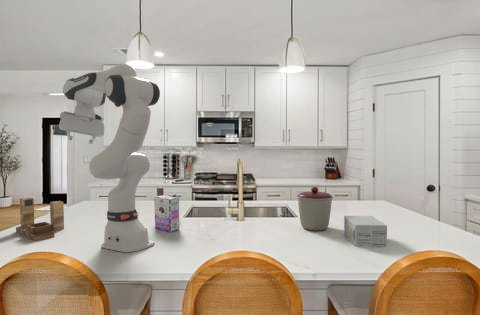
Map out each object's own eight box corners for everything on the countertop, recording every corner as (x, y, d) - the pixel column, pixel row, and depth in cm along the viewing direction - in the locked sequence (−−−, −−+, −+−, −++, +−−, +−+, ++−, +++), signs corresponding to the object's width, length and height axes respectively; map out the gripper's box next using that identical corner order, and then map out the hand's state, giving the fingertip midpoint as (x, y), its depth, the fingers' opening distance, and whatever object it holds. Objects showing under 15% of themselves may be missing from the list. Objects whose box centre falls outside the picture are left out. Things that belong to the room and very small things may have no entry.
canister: (289, 228, 157) (289, 187, 157) (308, 222, 171) (308, 183, 170) (322, 235, 145) (322, 190, 144) (339, 227, 158) (339, 186, 158)
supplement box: (343, 235, 146) (343, 215, 146) (372, 235, 145) (372, 215, 145) (354, 246, 129) (355, 224, 129) (387, 247, 128) (387, 224, 128)
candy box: (179, 230, 155) (179, 197, 155) (169, 232, 151) (169, 199, 150) (164, 225, 165) (163, 194, 164) (154, 227, 160) (154, 196, 160)
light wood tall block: (64, 229, 158) (63, 201, 158) (54, 231, 155) (53, 203, 154) (59, 227, 161) (59, 200, 161) (50, 229, 158) (49, 202, 157)
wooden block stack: (54, 236, 145) (53, 201, 144) (34, 241, 138) (33, 204, 138) (34, 228, 159) (33, 196, 159) (16, 232, 153) (15, 198, 152)
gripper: (62, 108, 148) (58, 135, 144) (106, 118, 161) (103, 144, 157) (59, 112, 152) (55, 139, 149) (102, 122, 165) (99, 147, 162)
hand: (80, 141), depth 153 cm, fingers open, 8 cm apart
